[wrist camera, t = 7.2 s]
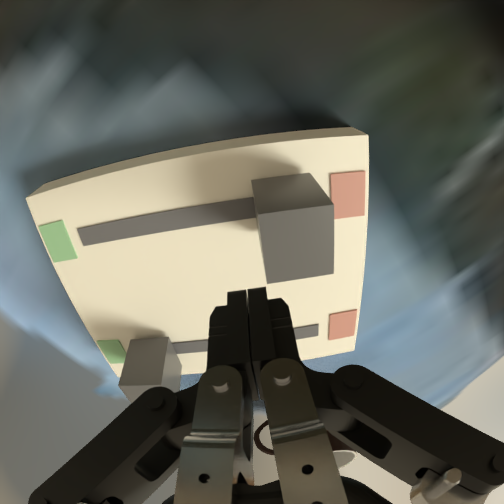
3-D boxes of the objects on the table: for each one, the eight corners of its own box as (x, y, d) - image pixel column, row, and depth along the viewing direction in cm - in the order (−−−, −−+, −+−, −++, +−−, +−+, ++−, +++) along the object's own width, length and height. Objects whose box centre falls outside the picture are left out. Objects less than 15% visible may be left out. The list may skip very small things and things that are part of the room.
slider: (168, 336, 25) (161, 384, 21) (182, 365, 27) (177, 411, 23) (130, 339, 25) (118, 385, 21) (146, 367, 27) (138, 411, 23)
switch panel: (351, 126, 20) (369, 135, 18) (345, 329, 31) (354, 351, 28) (44, 183, 21) (24, 198, 18) (123, 355, 31) (117, 378, 29)
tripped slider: (309, 172, 19) (334, 204, 14) (312, 230, 21) (333, 273, 16) (250, 179, 19) (257, 214, 14) (258, 237, 21) (266, 284, 16)
